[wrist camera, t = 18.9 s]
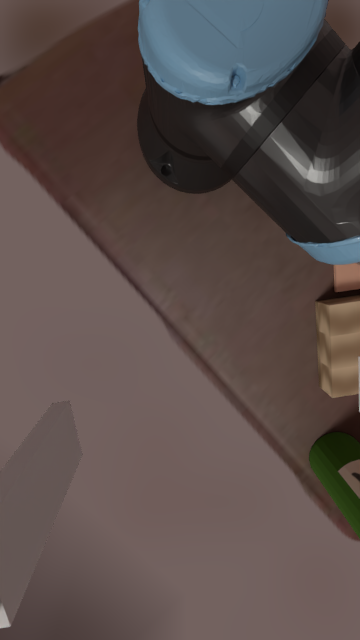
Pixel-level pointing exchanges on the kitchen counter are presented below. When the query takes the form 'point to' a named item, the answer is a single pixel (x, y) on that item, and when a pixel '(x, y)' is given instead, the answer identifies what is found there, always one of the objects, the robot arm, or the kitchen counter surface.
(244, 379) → the kitchen counter surface
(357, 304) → the jig
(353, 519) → the wine bottle
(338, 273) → the mat
